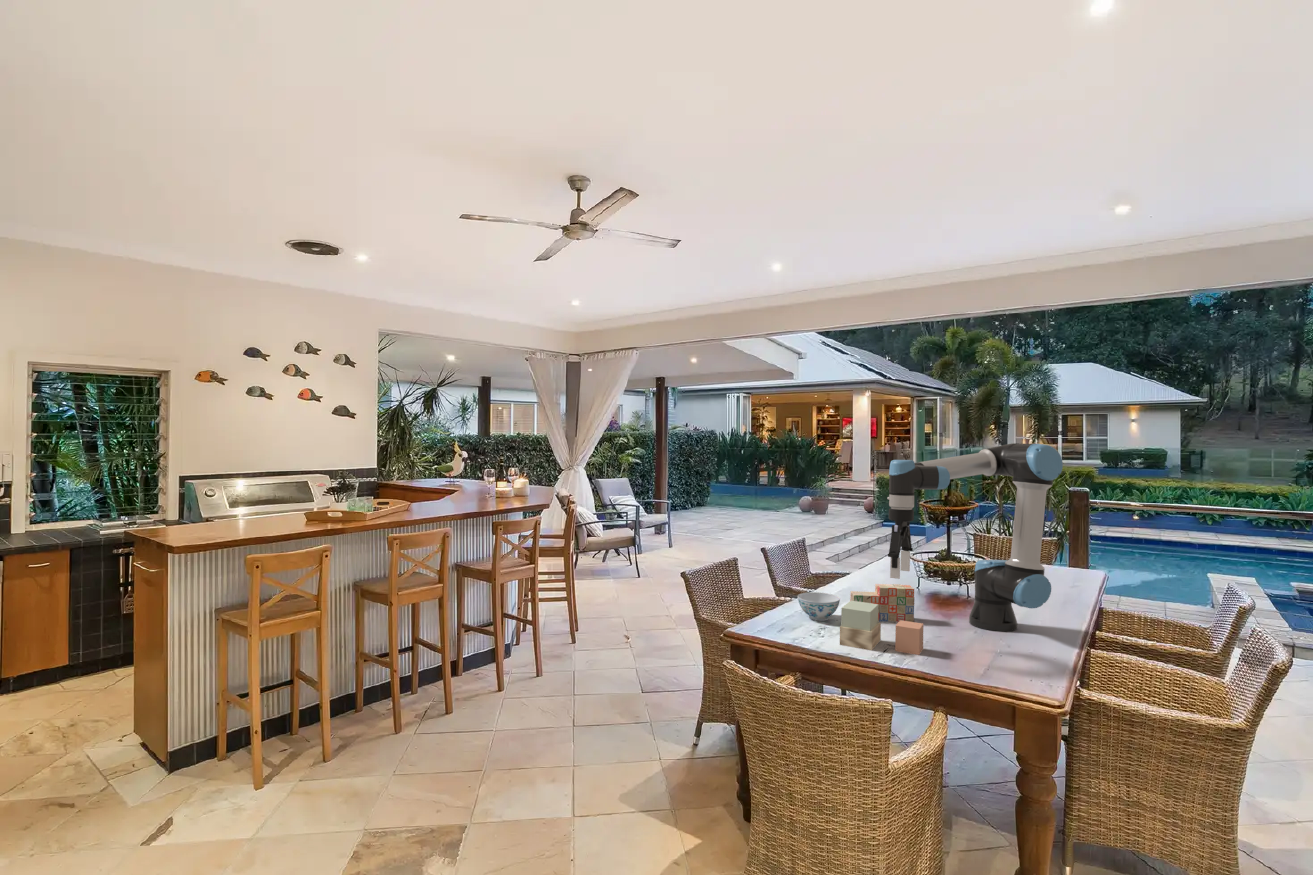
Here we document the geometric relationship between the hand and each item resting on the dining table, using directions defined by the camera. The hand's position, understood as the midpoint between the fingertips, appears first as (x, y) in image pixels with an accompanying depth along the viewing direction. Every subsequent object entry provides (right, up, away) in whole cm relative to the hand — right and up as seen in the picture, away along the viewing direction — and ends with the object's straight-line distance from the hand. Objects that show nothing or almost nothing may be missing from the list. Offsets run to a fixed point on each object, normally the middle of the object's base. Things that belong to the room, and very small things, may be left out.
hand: (900, 574), depth 211 cm
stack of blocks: (+4, -23, +30) cm, 38 cm away
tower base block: (-12, -23, +2) cm, 26 cm away
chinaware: (-19, -22, +30) cm, 42 cm away
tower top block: (-12, -17, +3) cm, 21 cm away
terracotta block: (+1, -23, -5) cm, 23 cm away
